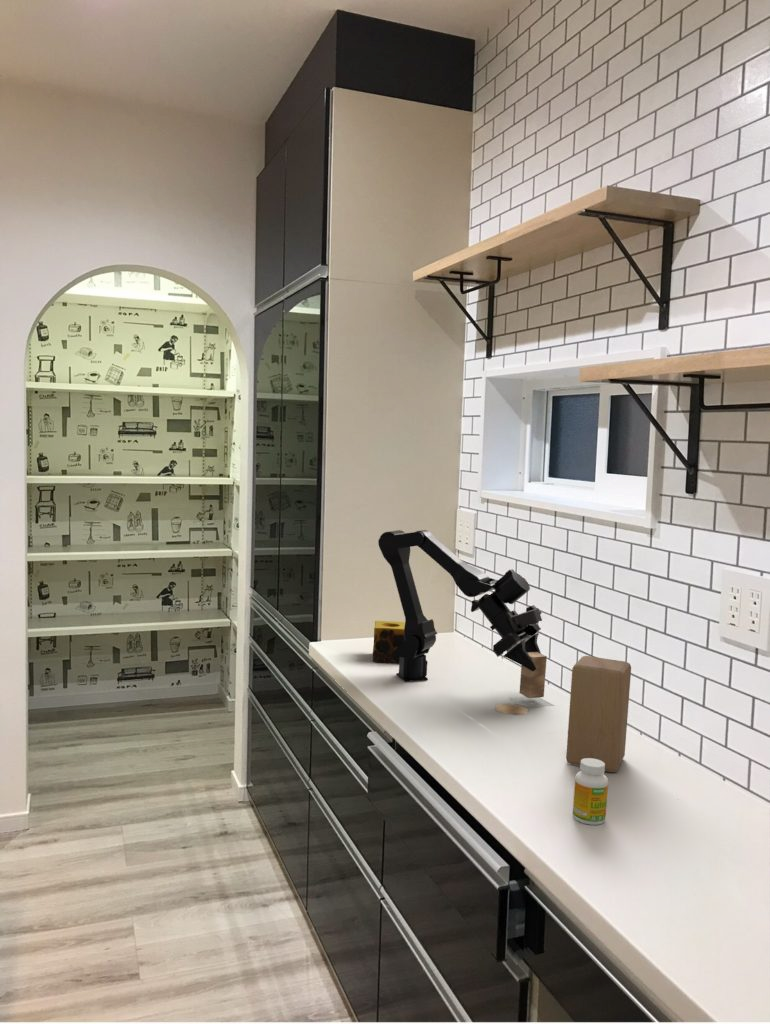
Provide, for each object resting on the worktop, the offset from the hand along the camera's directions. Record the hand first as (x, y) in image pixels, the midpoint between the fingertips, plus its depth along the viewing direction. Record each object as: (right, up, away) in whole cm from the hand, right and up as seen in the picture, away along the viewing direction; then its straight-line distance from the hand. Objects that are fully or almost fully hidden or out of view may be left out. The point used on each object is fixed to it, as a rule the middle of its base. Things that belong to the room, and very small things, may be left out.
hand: (539, 667), depth 201 cm
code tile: (-2, -9, +1) cm, 9 cm away
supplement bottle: (-3, -14, -61) cm, 62 cm away
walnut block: (-2, -7, +1) cm, 7 cm away
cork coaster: (-8, -9, -5) cm, 13 cm away
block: (+5, -12, -35) cm, 37 cm away
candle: (-36, -5, +36) cm, 51 cm away
